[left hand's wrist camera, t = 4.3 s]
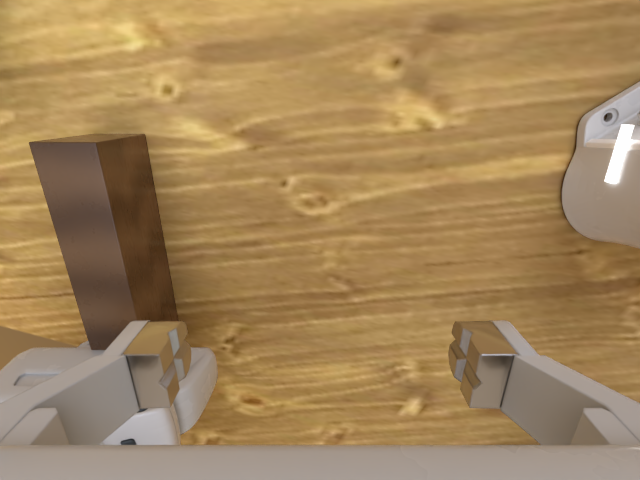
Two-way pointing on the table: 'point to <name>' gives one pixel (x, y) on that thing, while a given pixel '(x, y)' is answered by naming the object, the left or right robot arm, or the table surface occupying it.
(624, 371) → the table surface
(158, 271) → the bar
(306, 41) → the table surface
